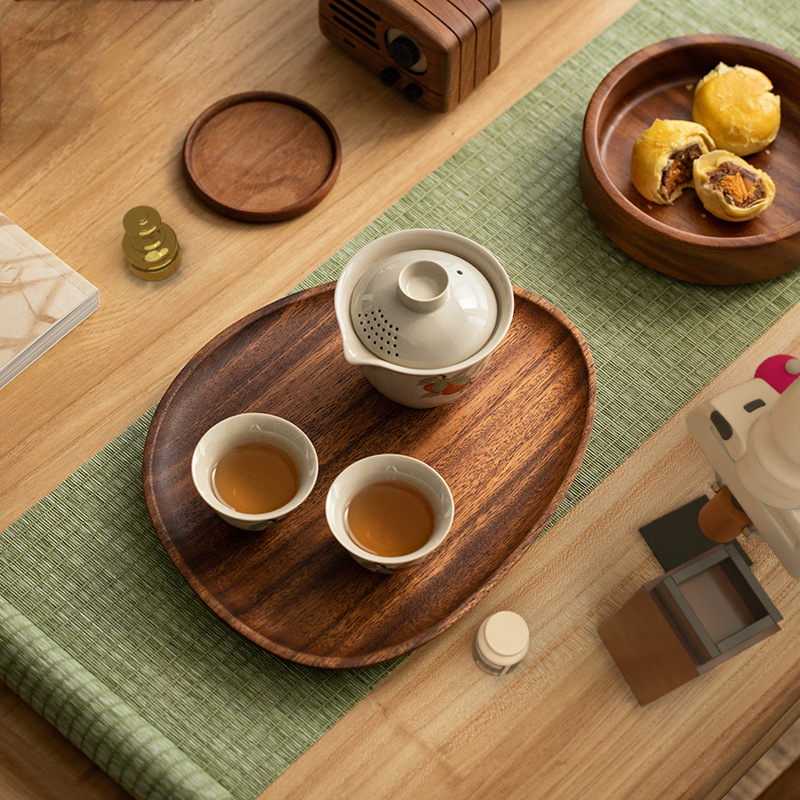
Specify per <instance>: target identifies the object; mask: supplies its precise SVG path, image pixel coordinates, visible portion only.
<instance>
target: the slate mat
mask: <svg viewBox="0 0 800 800" xmlns="http://www.w3.org/2000/svg"><path fill="white" fill-rule="evenodd" d="M710 500H711V499H710V498H709V497H708V495H707V494H704V495H701V496H699V497H697V498H695V499H694V500H691V501H689V502H688V503H685V504H684V505H682V506H679V507H678V508H676V509H673V510H672V511H670V512H668V513H666V514H664V515H662V516H661V517H658V518H656V519H654V520H652V521H651V522H648V523H647V524H644V525H642V526H641V527H639V528H638V531H639V533H640V535H641V536H642V538H643V539H644V541H645V542H646V544H647V545H648V547H649V549H650V550H651V552H652V553H653V555H654V556H655V558H656V560H657V561H658V562H659V565H660V566H661V568H662V569H663V571H664V573H667V572H669V571H670V570H672V569H674V568H676V567H678V566H680V565H682V564H684V563H686V562H688V561H689V560H691V559H693V558H695V557H697V556H699V555H701V554H703V553H705V552H706V551H708V550H710V549H712V548H714V547H716V546H718V545H720V544H722V543H720V542H716V541H713V540H711V539H709V538H708V537H707V536H706V535H705V534H704V533H703V532H702V530H701V528H700V526H699V522H698V517H699V513H700V511H701V509H702V508H703V507H704V506H705V505H706V504H707V503H708V502H709V501H710ZM730 543H732V544H733V545H734V547H735V548H736V549H737V551H738V552H739V554H740V555H741V557H742V558H743V560H744V561H745V563H746V564H747V565H748V567H749V568H750V567H752V566H753V565H754V562H753V561H752V559H751V558H750V556H749V555H748V553H747V552H746V551H745V549H744V547H743V546H742V545H741V543H740V542H739V540H738V539H737V537H736V538H735V539H734V540H732V541H730V542H727V543H723V544H724V546H727V545H729V544H730Z"/></svg>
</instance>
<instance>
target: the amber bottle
mask: <svg viewBox="0 0 800 800" xmlns="http://www.w3.org/2000/svg"><path fill="white" fill-rule="evenodd" d="M709 500H710V501H709V502H708V503H707V504H706V505H705V506H704V507H703V508H702V509H701V511H700V513H699V517H698V522H699V526H700V528H701V530H702V532H703V533H704V534H705V535H706V536H707V537H708V538H709V539H711V540H713V541H716V542H720V543H727V542H730V541H732V540H734V539H735V538H736V539H737V538H738V537H739V536H740V535H741V534H743V533H742V532H741V530H742V529H743V528H745V527H746V526H748V525H750V524H753V522H752V521H751V520H750V518H749V517H748V515H747V514H746V512H745V511H744V510H743V508H742V507H741V505H740V504H739V502H738V501H737V500H736V498H735V497H734V495H733V494H732V492H731V491H730V490H729V488H728V487H727V485H725V486H724V487H723V488H722V489H721V490H720V491H719V492H718V493H717V494H714V495H713V497H711V499H709Z"/></svg>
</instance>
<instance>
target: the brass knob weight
mask: <svg viewBox="0 0 800 800" xmlns="http://www.w3.org/2000/svg"><path fill="white" fill-rule="evenodd" d="M122 227H123V229H124V232H125V233H124V234H123V236H122V239H121V250H122V253H123V255H124V257H125V260H126V261H125V262H126V263H127V264H128V267H129V269H130V271H131V272H132V274H134V276H136V277H137V278H138V279H141V280H144V281H149V282H158V281H161V280H165V279H167V278H170V277H171V276H172V275H174V274H175V272H177V270H178V269H179V268H180V267H181V263H182V252H181V250H180V249H181V247H180V243H179V241H178V238H177V234H176V232H175V230H174V229H173V228H172V226H170V225H169V224H168V223H166V222H163V221H162V216H161V214H160V212H159V211H158V210H157V209H156V208H154V207H152V206H149V205H143V204H142V205H137V206H133V207H131V208H130V209H128V211H126V213H125V214H124V215H123V218H122Z"/></svg>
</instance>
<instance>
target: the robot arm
mask: <svg viewBox="0 0 800 800" xmlns="http://www.w3.org/2000/svg"><path fill="white" fill-rule="evenodd" d="M684 420H685V426H686V430H687V431H688V432H689V434H690V435H691V436H692V438H693V439H694V441H695V442H696V445H698V447H699V448H700V450H701V451H702V453H703V454H704V456H705V457H706V458H707V459H708V461H709V462H710V474H711V475H710V477H711V478H710V479H709V481H708V482H707V484H708V486H709V487H710V488H711V490H712V491H713V493H714V495H716V494H717V493H718V492H719V491H720V490H721V489H722V488H723V487H724V486H725V485H727V487H728V488H729V490H730V491H731V492H732V494H733V495H734V497H735V498H736V500H737V501H738V502H739V504H740V505H741V507H742V508H743V510H744V511H745V512H746V514H747V515H748V517H749V518H750V520H751V521H752V522H753V524H750V525H748V526H746V527H745V528H743V529H742V530H741V532H742V533H741V534H742V535H743V536H744V538H745V539H746V541H747V542H748V543H751V542H753V541H754V540H755V541H759V542H762V543H766V544H767V546H768V547H769V548H770V550H771V551H772V553H773V554H774V555H775V557H776V558H777V560H778V561H779V562H780V564H781V566H782V567H783V569H784V570H785V571H786V573H787V574H788V576H789V577H790V578H791V579H793V580H795V581H797V582H800V376H799V377H798V378H797V379H796V380H795V381H794V382H792V384H791V385H790V386H789V387H788V388H787V389H786V390H785V391H784V392H783V393H782V394H781V395H780V394H779V393H778V392H777V391H776V390H774V389H773V388H772V387H771V386H770V385H769V384H767V383H766V382H765V381H764V380H762V379H760V378H755V379H754V378H753V379H749V380H747V381H743V382H741V383H738V384H736V385H734V386H732V387H729V388H728V389H725V390H723V391H722V392H720V393H718V394H717V395H715V396H713V397H711V398H710V399H707V400H706V401H703V402H701V403H700V404H698V405H696V406H695V407H693V409H691V410H690V411H689V412H688V413H687V415H686V417H685V419H684Z"/></svg>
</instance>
